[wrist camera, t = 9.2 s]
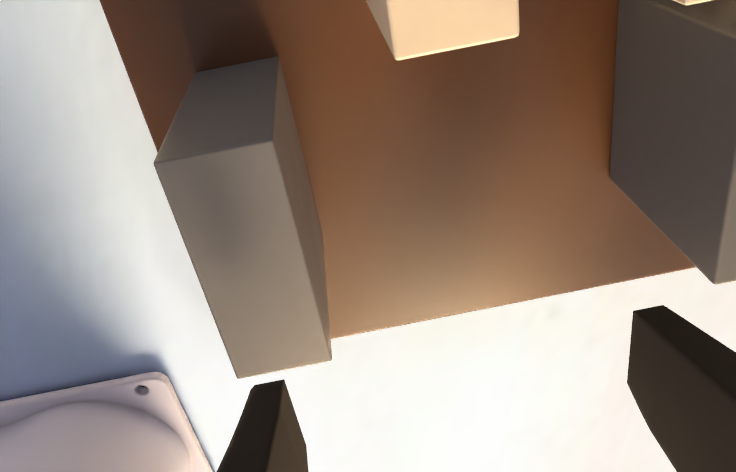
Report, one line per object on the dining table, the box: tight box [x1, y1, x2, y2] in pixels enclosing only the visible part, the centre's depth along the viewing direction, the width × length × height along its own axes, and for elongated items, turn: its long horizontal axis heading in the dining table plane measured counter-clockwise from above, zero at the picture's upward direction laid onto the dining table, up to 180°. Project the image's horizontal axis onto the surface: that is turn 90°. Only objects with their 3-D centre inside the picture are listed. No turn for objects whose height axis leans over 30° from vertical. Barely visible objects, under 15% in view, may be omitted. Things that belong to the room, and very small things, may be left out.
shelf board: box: [100, 0, 696, 339], centre depth 18 cm, size 18×19×1 cm
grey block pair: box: [154, 0, 736, 379], centre depth 16 cm, size 14×6×6 cm, turn 99°
